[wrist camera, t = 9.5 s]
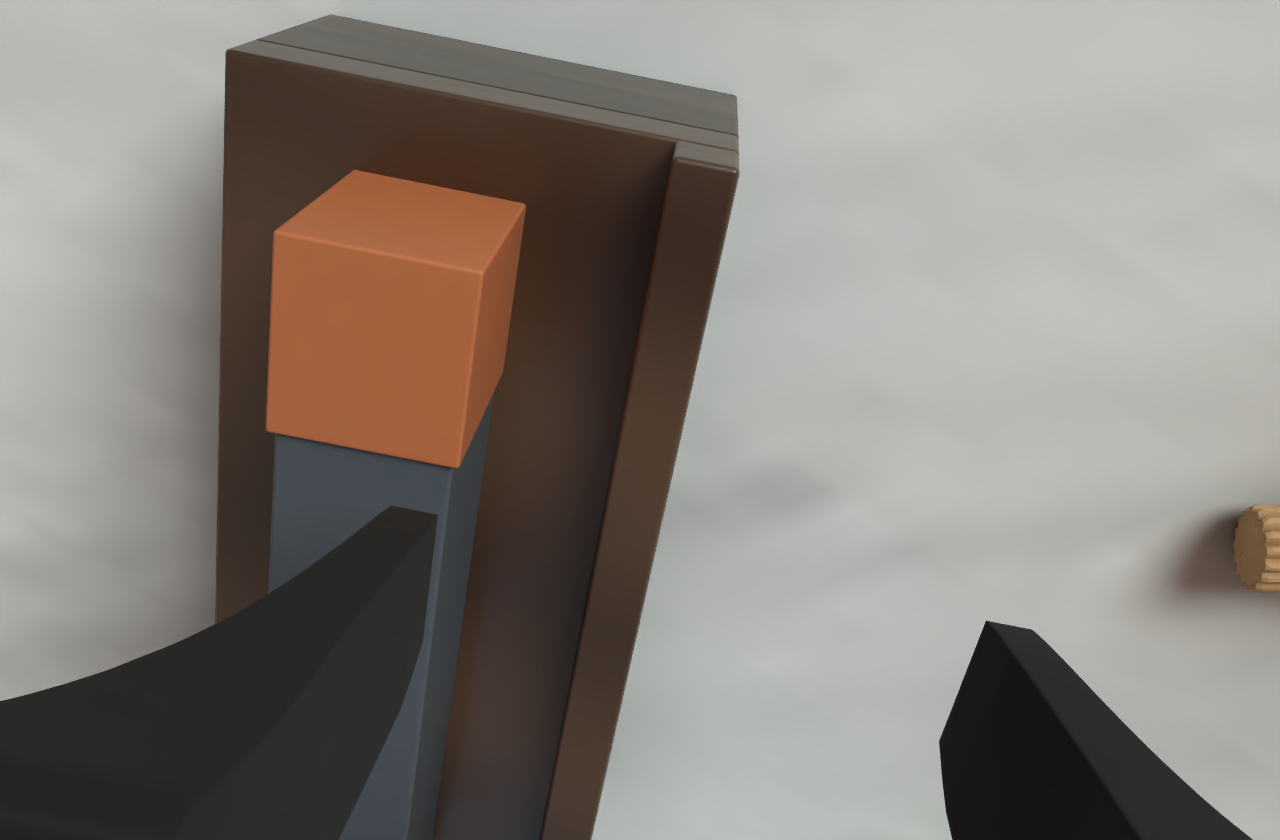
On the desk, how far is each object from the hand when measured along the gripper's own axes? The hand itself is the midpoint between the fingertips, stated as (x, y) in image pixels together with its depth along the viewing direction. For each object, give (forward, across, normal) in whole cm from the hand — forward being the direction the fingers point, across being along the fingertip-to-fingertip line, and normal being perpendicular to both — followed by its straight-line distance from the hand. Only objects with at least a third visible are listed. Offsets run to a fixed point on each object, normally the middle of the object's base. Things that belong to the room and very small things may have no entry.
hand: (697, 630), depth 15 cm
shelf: (+10, +4, +4) cm, 12 cm away
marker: (+5, +5, +4) cm, 8 cm away
